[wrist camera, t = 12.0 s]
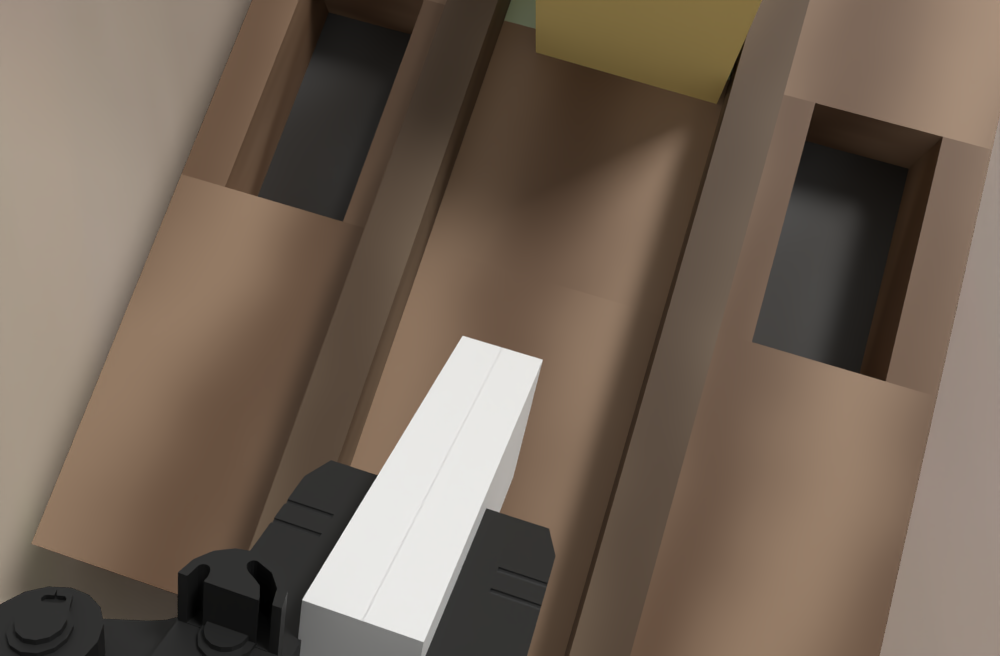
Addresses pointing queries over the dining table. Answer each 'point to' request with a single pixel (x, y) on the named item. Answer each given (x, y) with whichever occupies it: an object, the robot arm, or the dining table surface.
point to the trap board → (565, 305)
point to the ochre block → (650, 39)
